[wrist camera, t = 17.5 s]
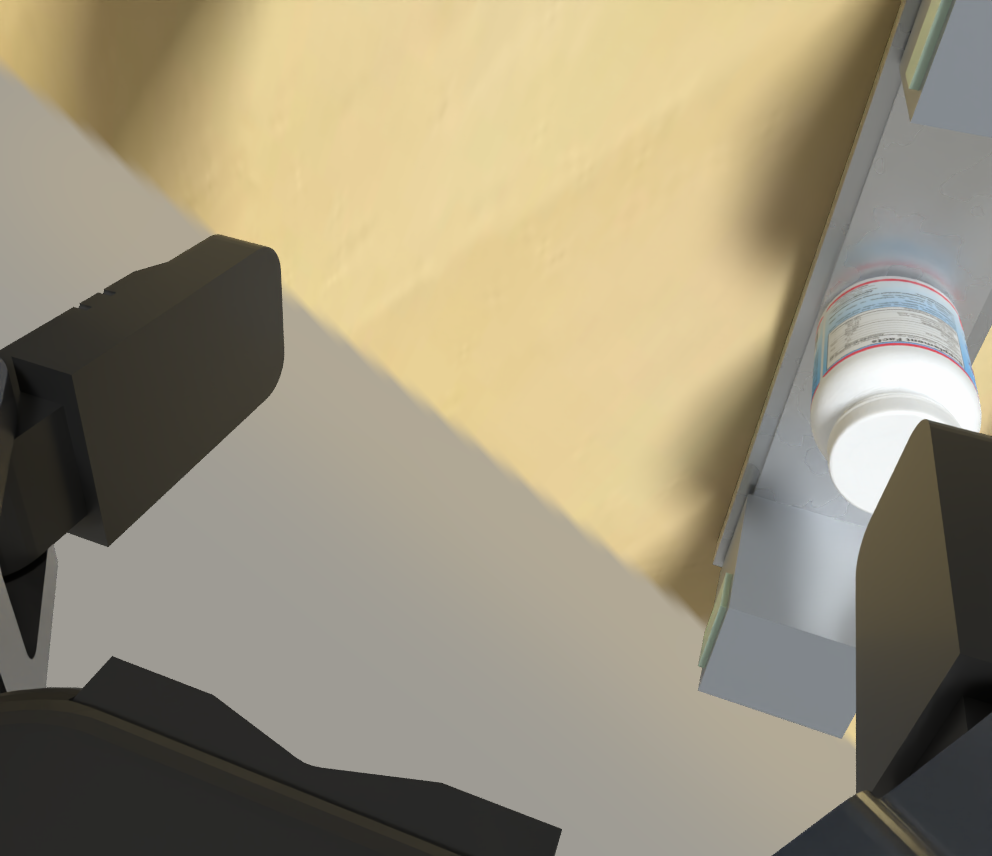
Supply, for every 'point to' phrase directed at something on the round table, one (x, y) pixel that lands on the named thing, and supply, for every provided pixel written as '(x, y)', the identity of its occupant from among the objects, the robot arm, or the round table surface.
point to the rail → (875, 272)
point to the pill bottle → (886, 379)
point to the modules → (811, 536)
